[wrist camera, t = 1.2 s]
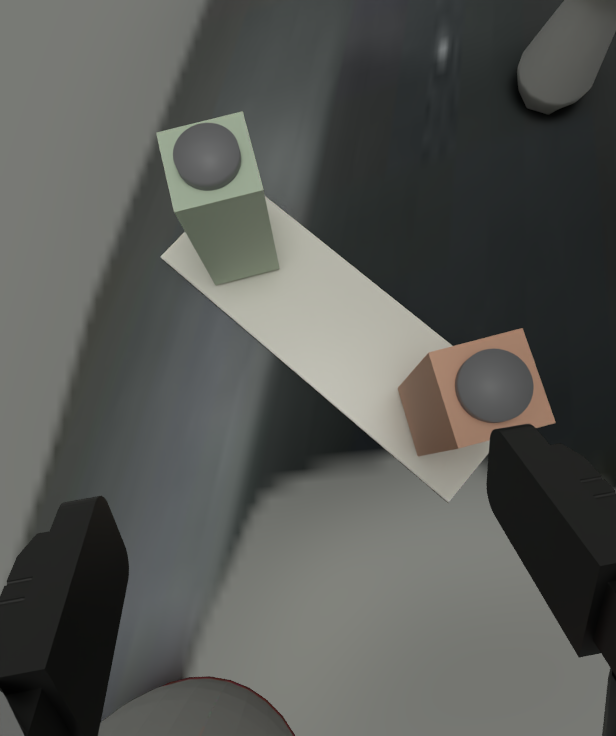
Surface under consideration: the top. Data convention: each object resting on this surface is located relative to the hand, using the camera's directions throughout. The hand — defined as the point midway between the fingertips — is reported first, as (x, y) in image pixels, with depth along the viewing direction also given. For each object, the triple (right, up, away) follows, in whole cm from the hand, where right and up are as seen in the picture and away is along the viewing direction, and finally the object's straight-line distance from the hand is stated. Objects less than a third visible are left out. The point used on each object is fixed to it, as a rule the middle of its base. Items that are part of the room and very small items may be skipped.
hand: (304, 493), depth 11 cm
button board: (+2, +5, +29) cm, 30 cm away
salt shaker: (+19, +25, +33) cm, 46 cm away
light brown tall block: (+10, -1, +28) cm, 30 cm away
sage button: (-5, +12, +31) cm, 33 cm away
